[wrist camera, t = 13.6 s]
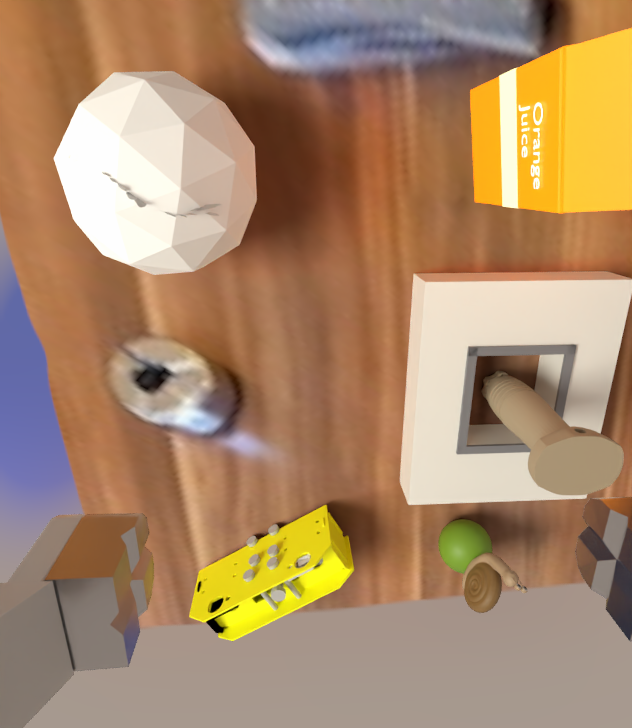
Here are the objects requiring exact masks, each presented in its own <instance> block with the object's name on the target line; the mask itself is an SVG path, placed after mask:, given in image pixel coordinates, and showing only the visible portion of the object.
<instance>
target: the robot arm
mask: <svg viewBox="0 0 632 728" xmlns="http://www.w3.org/2000/svg"><path fill="white" fill-rule="evenodd" d="M582 517H583V519H584V520H585V522H586V524H587V525H588V527H587V528H586V529H585V530H584V531H583V532H582V533H581V534H580V535H579V536H578V539H577V545H576V551H575V552H576V558H577V564H578V568H579V570H580V573H581V575H582V577H583V579H584V580H585V582H586V583H587V585H588V586H589V587H590V589H591V590H593V591H595V592H596V593H598V594H599V595H601V596H603V597H604V598H606V599H607V600H606V610H607V612H608V613H609V614H610V616H611V617H612V618H613V620H614V621H615V622H616V624H617V625H618V626H619V628H620V629H621V630H622V632H623V633H624V634H625V636H626V637H627V638H628V640H629V641H632V497H611V498H590V500H589V501H588V502H587V504H586V505H585V508H584V512H583V516H582ZM148 535H149V527H148V522H147V517H146V516H145V515H144V514H143V513H141V514H87V515H84V514H79V515H58V516H56V517H54V518H52V519H51V520H50V522H49V523H48V525H47V526H46V527H45V529H44V530H43V532H42V533H41V535H40V536H39V538H38V539H37V540H36V542H35V543H34V545H33V546H32V548H31V549H30V551H29V552H28V553H27V555H26V556H25V558H24V559H23V561H22V562H21V563H20V565H19V566H18V568H17V569H16V571H15V572H14V573H13V575H12V577H11V578H10V579H9V581H8V582H7V583H0V728H23V727H24V726H25V725H26V724H27V723H28V722H29V721H30V720H31V719H32V718H33V716H35V715H36V714H37V713H38V712H39V710H40V709H41V708H42V707H43V706H44V705H45V704H46V703H47V702H48V701H49V700H50V699H51V698H52V697H53V696H54V695H55V693H57V692H58V691H59V690H60V689H61V688H62V686H63V685H64V684H65V683H66V682H67V681H68V680H69V679H70V678H71V677H72V676H73V675H74V672H73V671H83V670H95V669H107V668H120V667H129V664H130V661H131V658H132V655H133V652H134V649H135V646H136V643H137V640H138V637H139V633H140V626H139V620H138V617H139V616H140V615H141V614H142V613H144V612H145V611H146V610H147V609H148V605H149V602H150V599H151V595H152V588H153V581H154V562H153V555H152V552H150V551H149V550H148V549H147V548H146V547H145V544H146V541H147V538H148Z"/></svg>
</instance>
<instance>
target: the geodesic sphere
mask: <svg viewBox="0 0 632 728" xmlns="http://www.w3.org/2000/svg"><path fill="white" fill-rule="evenodd" d="M54 161H55V164H56V167H57V170H58V173H59V176H60V179H61V182H62V185H63V188H64V191H65V194H66V197H67V200H68V203H69V206H70V209H71V213H72V216H73V219H74V221H75V222H76V223H77V225H78V226H79V227H80V228H81V229H82V231H83V232H84V233H85V234H86V235H87V237H88V238H89V239H90V240H91V241H92V242H93V244H94V245H95V246H96V247H97V248H98V250H99V251H100V252H101V253H102V254H103V255H104V256H107V257H110V258H112V259H115V260H117V261H120V262H123V263H125V264H128V265H130V266H133V267H135V268H138V269H141V270H143V271H146V272H148V273H151V274H153V275H157V274H169V273H182V272H194V271H196V270H198V269H200V268H203V267H204V266H206V265H208V264H209V263H211V262H213V261H214V260H216V259H217V258H219V257H221V256H222V255H224V254H226V253H227V252H229V251H230V250H232V249H234V248H235V247H237V246H239V245H240V243H241V240H242V238H243V235H244V232H245V230H246V227H247V225H248V222H249V219H250V217H251V214H252V212H253V209H254V207H255V204H256V201H257V191H256V168H255V146H254V145H253V144H252V142H251V141H250V139H249V138H248V136H247V135H246V133H245V132H244V130H243V129H242V127H241V126H240V125H239V123H238V122H237V120H236V119H235V117H234V116H233V114H232V113H231V111H230V110H229V108H228V107H227V106H226V104H225V103H224V102H223V101H221V100H219V99H218V98H216V97H214V96H213V95H211V94H210V93H208V92H206V91H205V90H203V89H202V88H200V87H198V86H197V85H195V84H193V83H192V82H190V81H189V80H187V79H185V78H184V77H182V76H181V75H179V74H177V73H176V72H174V71H160V72H114V73H113V74H112V75H111V76H110V77H108V78H107V79H106V80H105V81H104V82H103V83H102V84H101V85H100V86H98V87H97V88H96V89H95V90H94V91H93V92H92V93H91V94H90V95H88V96H87V97H86V98H85V99H84V100H83V101H82V102H81V103H80V104H79V105H78V107H77V109H76V111H75V114H74V116H73V118H72V120H71V122H70V124H69V127H68V129H67V131H66V133H65V135H64V137H63V140H62V142H61V144H60V146H59V148H58V150H57V152H56V155H55V157H54Z"/></svg>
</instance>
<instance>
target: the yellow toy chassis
mask: <svg viewBox="0 0 632 728" xmlns="http://www.w3.org/2000/svg"><path fill="white" fill-rule="evenodd" d="M268 532H269V535H267V536H265V537H263V538H261V539H259V540H258V539H257V538H256V537H255V536H251V537H250V538H249V539H248V540H247V542H246V543H247V545H248V546H246V547H244V548H242V549H240V550H238V551H236V552H234V553H232V554H230V555H229V556H227V557H225V558H223V559H221V560H219V561H217V562H215V563H213V564H211V565H209V566H208V567H206V568H204V569H202V570H200V571H199V574H198V578H197V583H196V587H195V592H194V597H193V601H192V606H191V611H190V615H189V616H190V618H193V619H196V620H199V621H201V622H207V624H208V625H209V626H210V627H211V628H212V629H213V630H214V631H215V632H216V633H218V637H219V638H223V639H227V640H231V641H234V640H236V639H238V638H240V637H242V636H244V635H246V634H248V633H250V632H252V631H254V630H256V629H258V628H260V627H262V626H264V625H266V624H268V623H270V622H272V621H274V620H276V619H278V618H280V617H282V616H284V615H286V614H289V613H291V612H293V611H295V610H297V609H299V608H301V607H303V606H305V605H307V604H309V603H311V602H313V601H315V600H317V599H319V598H321V597H323V596H325V595H327V594H329V593H331V592H333V591H335V590H337V589H339V588H340V587H341V586H342V584H343V583H344V582H345V581H346V580H347V578H348V577H349V576H350V575H351V573H352V572H353V571H354V565H353V559H352V554H351V548H350V542H349V537H348V535H347V536H345V537H343V535H342V533H343V532H342V530H341V529H340V527H339V526H338V525H337V523H336V522H335V520H334V519H333V517H332V516H331V515H330V513H328V510H327V505H324V506H322V507H320V508H318V509H316V510H315V511H313V512H311V513H309V514H307V515H305V516H303V517H301V518H299V519H297V520H295V521H294V522H292V523H290V524H288V525H286V526H284V527H282V528H280V529H279V527H278V526H277V525H276V524H274V525H272V526H271V527H270V528H269V530H268Z"/></svg>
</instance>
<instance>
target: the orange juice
mask: <svg viewBox="0 0 632 728" xmlns="http://www.w3.org/2000/svg"><path fill="white" fill-rule="evenodd" d="M470 100H471V124H472V147H473V171H474V194H475V202H479V203H487V204H494V205H502V206H504V207H511V208H525V209H532V210H540V211H547V212H555V213H566V212H585V211H609V210H632V28H630V29H627V30H623V31H620V32H616V33H613V34H610V35H606V36H603V37H600V38H596V39H593V40H589V41H586V42H583V43H579V44H574V45H568V46H564V47H561V48H559V49H557V50H555V51H553V52H551V53H549V54H547V55H544V56H542V57H540V58H538V59H536V60H534V61H532V62H529V63H527V64H525V65H523V66H521V67H519V68H515V69H513V70H510V71H508V72H506V73H504V74H502V75H500V76H499V77H497V78H495V79H493V80H491V81H489V82H487V83H485V84H482V85H480V86H478V87H476V88H474V89H472V90H470Z"/></svg>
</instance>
